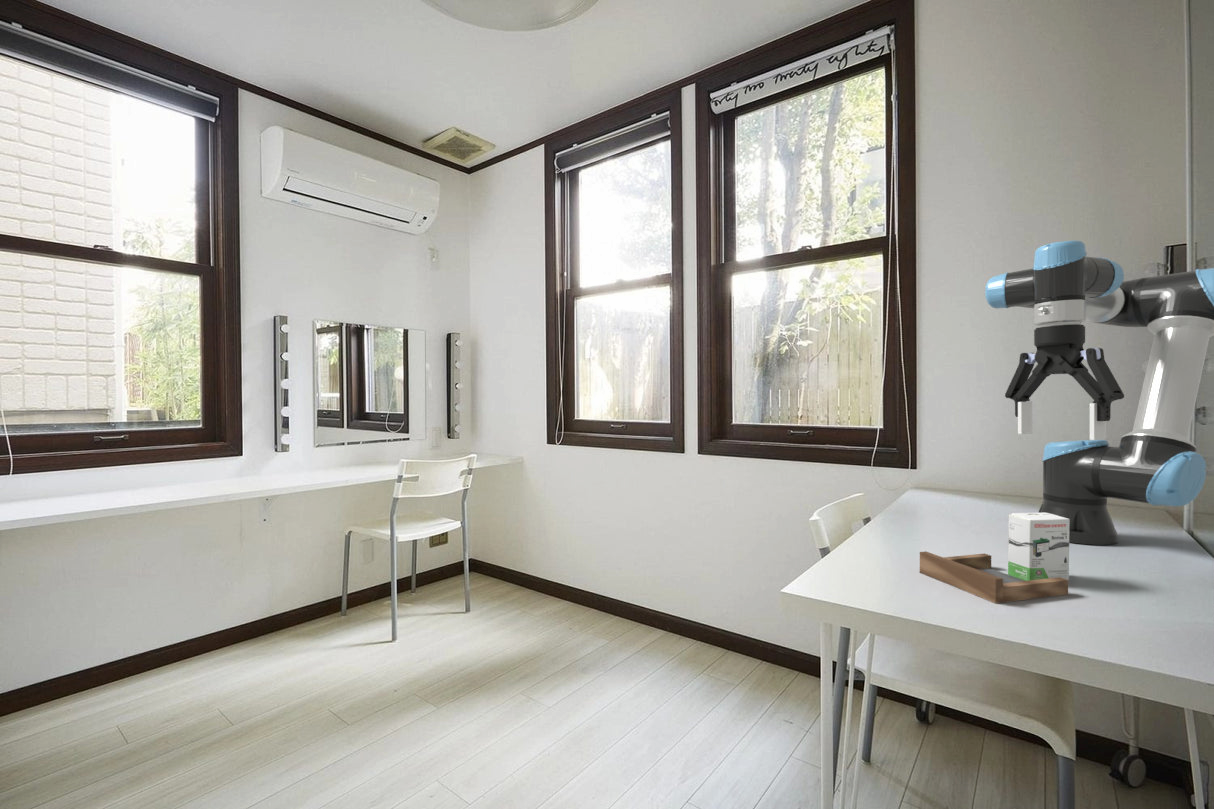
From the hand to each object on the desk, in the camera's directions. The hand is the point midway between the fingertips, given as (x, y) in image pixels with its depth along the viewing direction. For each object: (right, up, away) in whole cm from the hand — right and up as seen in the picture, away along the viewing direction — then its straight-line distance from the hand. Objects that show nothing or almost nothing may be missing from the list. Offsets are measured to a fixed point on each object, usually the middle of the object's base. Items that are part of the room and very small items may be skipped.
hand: (1059, 436), depth 105 cm
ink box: (-6, -27, -2) cm, 27 cm away
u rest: (-17, -27, -5) cm, 32 cm away
